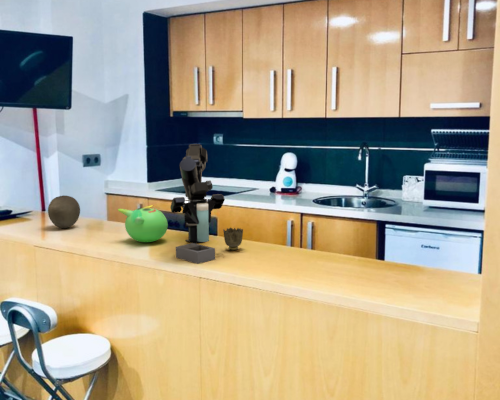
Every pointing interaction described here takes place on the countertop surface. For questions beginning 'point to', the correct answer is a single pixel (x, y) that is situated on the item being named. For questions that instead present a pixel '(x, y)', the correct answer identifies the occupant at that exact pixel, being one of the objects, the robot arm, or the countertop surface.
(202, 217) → the peg
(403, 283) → the countertop surface
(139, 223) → the toy bird
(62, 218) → the cantaloupe
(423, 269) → the countertop surface
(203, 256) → the socket
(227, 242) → the cup
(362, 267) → the countertop surface
